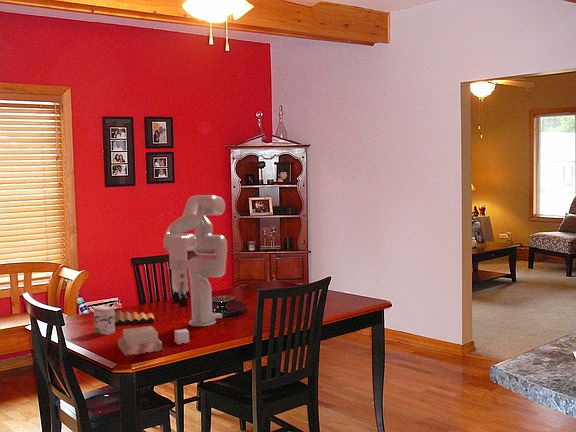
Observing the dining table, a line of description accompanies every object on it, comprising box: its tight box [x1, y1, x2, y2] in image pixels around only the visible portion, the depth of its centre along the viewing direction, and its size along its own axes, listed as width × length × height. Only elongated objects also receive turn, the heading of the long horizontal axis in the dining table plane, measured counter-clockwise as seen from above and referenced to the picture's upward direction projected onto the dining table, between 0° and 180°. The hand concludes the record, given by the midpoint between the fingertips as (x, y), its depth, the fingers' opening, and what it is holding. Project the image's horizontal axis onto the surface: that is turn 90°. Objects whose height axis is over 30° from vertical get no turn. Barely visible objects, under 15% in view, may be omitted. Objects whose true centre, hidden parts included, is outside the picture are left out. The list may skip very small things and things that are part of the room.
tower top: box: [122, 325, 159, 346], centre depth 285 cm, size 12×12×4 cm
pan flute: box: [114, 310, 155, 327], centre depth 339 cm, size 25×3×25 cm
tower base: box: [117, 337, 163, 357], centre depth 285 cm, size 15×15×4 cm
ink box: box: [93, 305, 116, 336], centre depth 313 cm, size 9×5×12 cm, turn 60°
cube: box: [174, 328, 190, 345], centre depth 293 cm, size 5×5×5 cm
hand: (180, 305), depth 292 cm, fingers open, 9 cm apart
